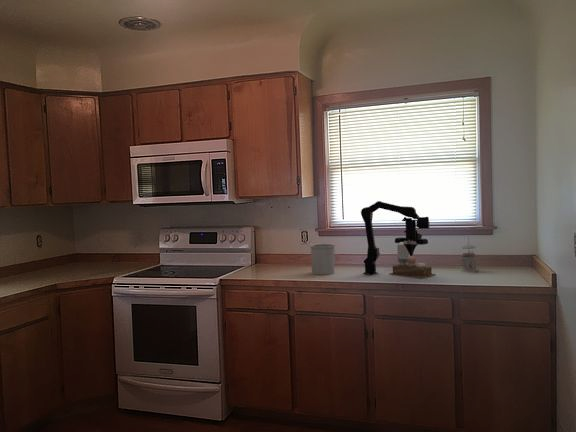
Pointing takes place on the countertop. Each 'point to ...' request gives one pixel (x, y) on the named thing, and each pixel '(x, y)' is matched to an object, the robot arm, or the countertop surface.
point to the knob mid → (411, 262)
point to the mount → (412, 271)
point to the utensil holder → (322, 259)
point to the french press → (468, 258)
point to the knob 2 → (420, 265)
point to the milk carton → (403, 251)
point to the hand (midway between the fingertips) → (411, 255)
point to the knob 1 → (402, 261)
